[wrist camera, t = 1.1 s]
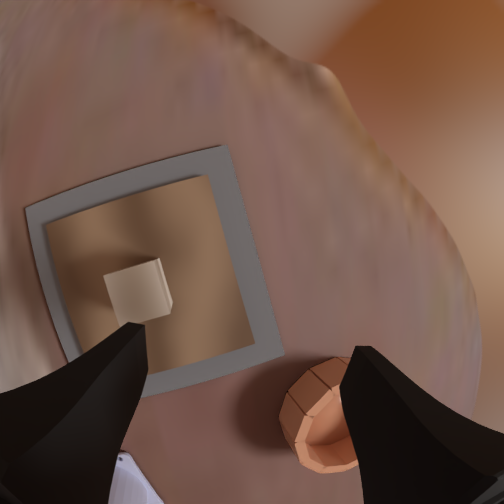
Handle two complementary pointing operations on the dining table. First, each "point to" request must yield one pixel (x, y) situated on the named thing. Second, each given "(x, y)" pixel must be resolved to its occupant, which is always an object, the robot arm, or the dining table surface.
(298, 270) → the dining table surface
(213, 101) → the dining table surface
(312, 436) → the bowl
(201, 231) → the square tan board
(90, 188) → the mat
